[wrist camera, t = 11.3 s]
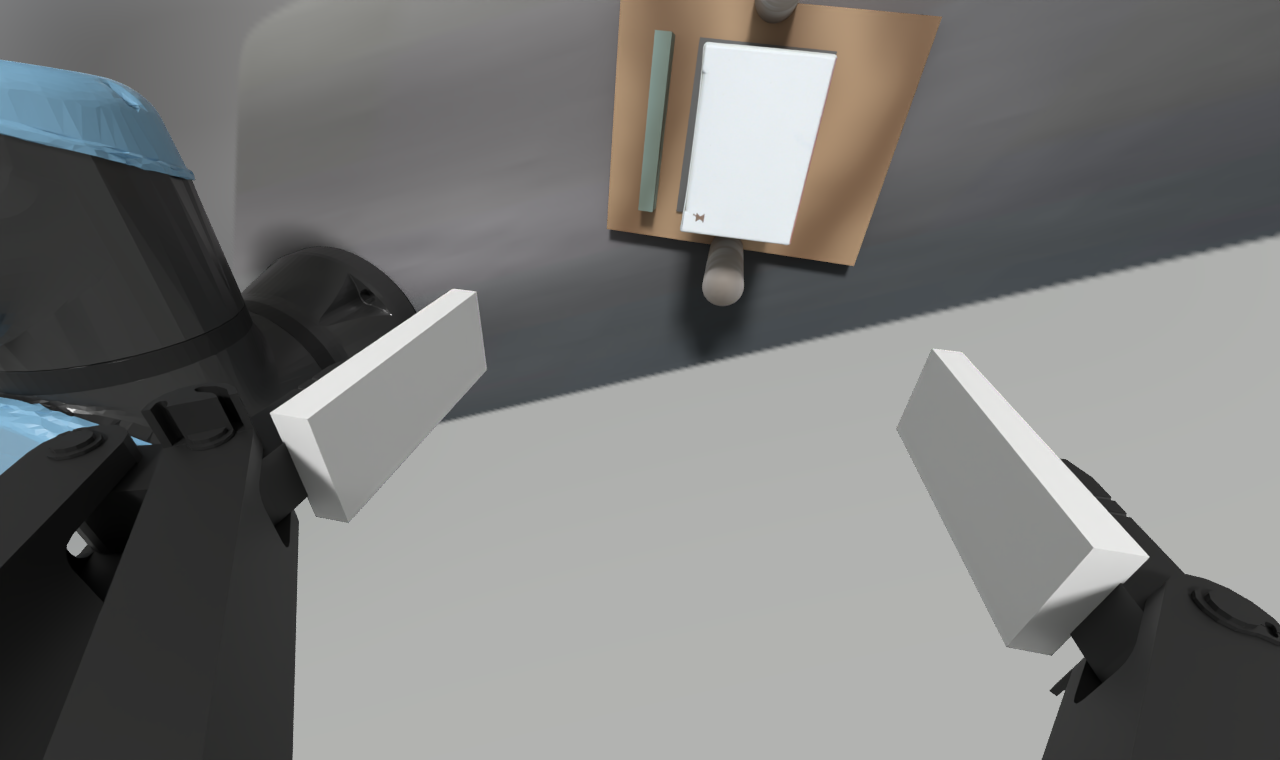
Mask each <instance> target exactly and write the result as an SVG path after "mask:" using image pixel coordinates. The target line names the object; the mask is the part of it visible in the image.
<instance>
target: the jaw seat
mask: <svg viewBox="0 0 1280 760" xmlns="http://www.w3.org/2000/svg"><path fill="white" fill-rule="evenodd" d="M798 2H799V0H621V1H620V18H619V34H618V51H617V68H616V85H615V102H614V119H613V135H612V152H611V169H610V186H609V203H608V219H607V229H611V230H618V231H625V232H631V233H638V234H645V235H651V236H658V237H665V238H671V239H678V240H684V241H691V242H698V243H704V244H711V245H710V250H709V255H708V259H707V264H706V269H705V274H704V279H703V284H702V290H703V294H704V296H705V297H706V299H707V300H708V301H709V302H711V303H712V304H714V305H718V306H728V305H731V304H733V303H735V302H736V301H737V300H738V299H739V298H740V297H741V295H742V293H743V290H744V264H743V249H744V250H751V251H758V252H764V253H771V254H778V255H784V256H791V257H798V258H804V259H811V260H817V261H824V262H831V263H837V264H844V265H851V266H854V264H855V261H856V258H857V255H858V253H859V250H860V247H861V244H862V241H863V238H864V236H865V233H866V230H867V227H868V224H869V222H870V219H871V216H872V213H873V210H874V207H875V205H876V202H877V199H878V196H879V193H880V190H881V188H882V185H883V182H884V179H885V176H886V174H887V171H888V168H889V165H890V162H891V159H892V157H893V154H894V151H895V148H896V145H897V142H898V140H899V137H900V134H901V131H902V128H903V126H904V123H905V120H906V117H907V114H908V111H909V109H910V106H911V103H912V100H913V97H914V95H915V92H916V89H917V86H918V83H919V80H920V78H921V75H922V72H923V69H924V66H925V63H926V61H927V58H928V55H929V52H930V49H931V47H932V44H933V41H934V38H935V35H936V32H937V30H938V27H939V24H940V21H941V18H942V17H938V16H928V15H917V14H906V13H896V12H885V11H875V10H864V9H853V8H843V7H832V6H821V5H811V4H800V3H798ZM706 42H714V43H725V44H737V45H748V46H758V47H769V48H779V49H789V50H799V51H809V52H819V53H828V54H835V55H836V56H837V61H836V64H835V68H834V72H833V76H832V80H831V84H830V89H829V93H828V97H827V100H826V104H825V108H824V112H823V116H822V120H821V124H820V128H819V132H818V136H817V140H816V144H815V148H814V152H813V156H812V160H811V164H810V168H809V172H808V176H807V180H806V184H805V188H804V192H803V196H802V200H801V204H800V208H799V212H798V216H797V219H796V224H795V228H794V232H793V236H792V240H791V244H790V245H782V244H775V243H767V242H759V241H751V240H744V239H736V238H728V237H720V236H712V235H704V234H696V233H688V232H682V231H680V225H681V220H682V214H683V208H684V203H685V196H686V190H687V183H688V175H689V168H690V160H691V153H692V145H693V137H694V129H695V121H696V113H697V105H698V97H699V88H700V79H701V68H702V55H703V46H704V44H705V43H706Z"/></svg>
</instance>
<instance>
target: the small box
mask: <svg viewBox="0 0 1280 760" xmlns="http://www.w3.org/2000/svg"><path fill="white" fill-rule="evenodd" d="M836 61H837V56H836V55H835V54H828V53H819V52H809V51H799V50H789V49H779V48H769V47H758V46H748V45H737V44H725V43H714V42H706V43H705V44H704V46H703V55H702V68H701V79H700V88H699V97H698V105H697V113H696V121H695V129H694V137H693V145H692V153H691V160H690V168H689V175H688V183H687V190H686V196H685V203H684V208H683V214H682V220H681V225H680V231H682V232H688V233H696V234H704V235H712V236H720V237H728V238H736V239H744V240H751V241H759V242H767V243H775V244H782V245H790V244H791V240H792V236H793V232H794V228H795V224H796V219H797V216H798V212H799V208H800V204H801V200H802V196H803V192H804V188H805V184H806V180H807V176H808V172H809V168H810V164H811V160H812V156H813V152H814V148H815V144H816V140H817V136H818V132H819V128H820V124H821V120H822V116H823V112H824V108H825V104H826V100H827V97H828V93H829V89H830V84H831V80H832V76H833V72H834V68H835V64H836Z"/></svg>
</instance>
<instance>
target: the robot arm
mask: <svg viewBox="0 0 1280 760" xmlns="http://www.w3.org/2000/svg"><path fill="white" fill-rule="evenodd" d="M192 180H195V178H194V174H193V172H192V171H190V170H188V169H187V168H186V166H185V164H184V162H183V160H182V158H181V156H180V154H179V152H178V150H177V149H176V147H175V144H174V143H173V141H172V138H171V137H170V134H169V132H168V131H167V129H166V127H165V125H164V123H163V121H162V119H161V117H160V115H159V113H158V112H157V111H156V109H155V108H154V107H153V106H152V104H151V103H150V102H149V101H148V100H146V99H145V98H144V97H143V96H142V95H141V94H139V93H138V92H136V91H135V90H133V89H131V88H130V87H128V86H126V85H124V84H122V83H119V82H117V81H114V80H111V79H108V78H105V77H101V76H96V75H90V74H85V73H79V72H75V71H69V70H62V69H56V68H50V67H44V66H38V65H32V64H26V63H19V62H13V61H6V60H0V760H292V754H293V718H294V680H295V679H294V677H295V641H296V604H297V603H296V602H297V567H298V566H297V565H298V564H297V563H298V530H299V521H298V518H297V515H296V513H295V511H294V509H295V508H296V507H297V506H298V505H299V504H300V503H301V502H302V501H303V500H304V499H305V498H306V497H308V500H309V502H310V504H311V507H312V509H313V511H314V513H315V516H316V517H320V518H326V519H331V520H336V521H342V522H347V523H349V522H350V521H351V519H352V518H353V517H354V516H355V515H356V514H357V513H358V512H359V510H360V509H361V508H362V507H363V506H364V505H365V504H366V503H367V502H368V501H369V500H370V498H371V497H372V496H373V495H374V494H375V493H376V492H377V490H379V488H380V487H381V486H382V485H383V484H384V483H385V482H386V481H387V480H388V478H389V477H390V476H391V475H392V474H393V473H394V472H395V471H396V470H397V469H398V467H399V466H400V465H401V464H402V463H403V462H404V461H405V460H406V458H408V456H409V455H410V454H411V453H412V452H413V451H414V450H415V449H416V447H417V446H418V445H419V444H420V443H421V442H422V441H423V440H424V439H425V438H426V437H427V435H428V434H429V433H430V432H431V431H432V430H433V429H434V428H435V427H436V425H437V424H438V423H439V422H440V421H441V420H442V419H443V418H444V417H445V416H446V414H447V413H448V412H449V411H450V410H451V409H452V408H453V407H454V406H455V404H456V403H457V402H458V401H459V400H460V399H461V398H462V397H463V396H464V395H465V393H466V392H467V391H468V390H469V389H470V388H471V387H472V386H473V385H474V383H475V382H476V381H477V380H478V379H479V378H480V377H481V376H482V375H483V373H484V372H485V371H486V370H487V367H486V359H485V352H484V344H483V336H482V329H481V321H480V314H479V306H478V299H477V292H475V291H467V290H459V289H452V290H450V291H449V292H447V293H446V294H444V295H443V296H441V297H440V298H438V299H437V300H435V301H434V302H433V303H431V304H430V305H428V306H427V307H425V308H424V309H422V310H421V311H419V312H418V313H415V311H414V309H413V307H412V306H411V304H410V302H409V301H408V299H407V298H406V297H405V295H404V294H403V293H402V291H401V290H400V289H399V288H398V287H397V285H396V284H395V283H394V282H393V281H392V280H391V279H390V278H389V277H388V276H386V275H385V274H384V273H383V272H382V271H381V270H379V269H378V268H377V267H375V266H374V265H372V264H371V263H369V262H368V261H366V260H364V259H363V258H361V257H359V256H357V255H354V254H352V253H350V252H347V251H344V250H341V249H337V248H332V247H310V248H306V249H303V250H300V251H297V252H294V253H291V254H289V255H286V256H283V257H281V258H280V259H278V260H276V261H275V262H273V263H272V264H271V265H270V266H269V267H268V268H267V269H266V271H265V272H263V273H262V274H261V275H260V276H259V277H258V278H257V279H255V280H254V281H253V282H252V283H251V284H250V285H249V286H248V287H247V288H246V289H245V290H244V291H243V292H242V293H241V292H240V290H239V288H238V285H237V283H236V281H235V279H234V276H233V274H232V272H231V269H230V267H229V265H228V263H227V260H226V258H225V256H224V253H223V251H222V249H221V246H220V244H219V242H218V240H217V237H216V235H215V233H214V230H213V228H212V226H211V224H210V222H209V219H208V217H207V215H206V212H205V210H204V208H203V205H202V203H201V201H200V198H199V196H198V194H197V191H196V189H195V186H194V184H193V182H192ZM897 431H898V433H899V435H900V437H901V439H902V441H903V443H904V445H905V447H906V449H907V451H908V453H909V455H910V457H911V458H912V461H913V463H914V465H915V467H916V468H917V471H918V472H919V474H920V477H921V479H922V481H923V483H924V484H925V487H926V488H927V490H928V492H929V494H930V496H931V498H932V500H933V502H934V504H935V506H936V508H937V510H938V512H939V514H940V516H941V518H942V520H943V522H944V524H945V526H946V528H947V530H948V532H949V534H950V536H951V538H952V540H953V542H954V544H955V546H956V548H957V550H958V552H959V554H960V556H961V558H962V560H963V562H964V564H965V566H966V568H967V570H968V572H969V574H970V576H971V577H972V580H973V582H974V584H975V586H976V588H977V590H978V592H979V594H980V596H981V598H982V600H983V602H984V604H985V606H986V608H987V610H988V612H989V614H990V615H991V617H992V620H993V622H994V624H995V626H996V627H997V629H998V631H999V633H1000V635H1001V637H1002V639H1003V641H1004V643H1005V645H1006V647H1009V648H1014V649H1020V650H1025V651H1031V652H1035V653H1041V654H1046V655H1051V656H1052V655H1053V654H1054V653H1055V652H1056V651H1057V650H1058V649H1059V648H1060V647H1061V646H1062V645H1063V644H1064V643H1065V642H1066V641H1067V640H1068V639H1069V638H1070V637H1071V636H1072V638H1073V639H1074V641H1075V643H1076V644H1077V646H1078V647H1079V649H1080V650H1081V652H1082V654H1083V655H1084V658H1083V659H1082V660H1081V661H1080V662H1079V663H1078V664H1077V665H1076V666H1075V667H1074V668H1073V669H1071V670H1070V671H1069V672H1068V673H1067V674H1066V675H1065V676H1064V677H1063V678H1062V679H1061V680H1060V681H1059V682H1058V683H1057V684H1055V685H1054V687H1053V688H1052V689H1051V690H1050V692H1052V693H1053V694H1055V695H1056V696H1057V695H1059V694H1060V693H1061V692H1062V691H1063V690H1065V693H1064V696H1063V699H1062V702H1061V705H1060V708H1059V711H1058V714H1057V717H1056V720H1055V722H1054V725H1053V728H1052V731H1051V734H1050V737H1049V740H1048V743H1047V746H1046V749H1045V752H1044V755H1043V758H1042V760H1280V625H1279V623H1278V622H1277V621H1276V620H1275V619H1274V618H1273V617H1271V616H1270V615H1268V614H1267V613H1266V612H1265V611H1263V610H1262V609H1261V608H1259V607H1258V606H1257V605H1255V604H1254V603H1253V602H1251V601H1249V600H1248V599H1246V598H1244V597H1242V596H1241V595H1239V594H1237V593H1236V592H1234V591H1232V590H1230V589H1229V588H1226V587H1224V586H1221V585H1219V584H1217V583H1214V582H1212V581H1210V580H1207V579H1204V578H1200V577H1196V576H1191V575H1187V574H1184V573H1183V572H1182V571H1181V569H1179V567H1178V566H1177V565H1176V564H1175V563H1174V562H1173V561H1172V560H1171V559H1170V558H1169V557H1168V556H1167V555H1166V554H1165V553H1164V552H1163V551H1162V550H1161V549H1160V548H1159V547H1158V545H1157V544H1156V543H1155V542H1154V541H1153V540H1151V538H1150V537H1149V536H1148V535H1147V534H1146V533H1145V532H1144V531H1143V530H1142V529H1141V528H1140V527H1139V526H1138V525H1137V524H1136V523H1135V522H1134V520H1133V519H1132V518H1130V517H1126V512H1125V511H1124V510H1123V509H1122V508H1121V507H1120V506H1119V505H1118V504H1117V503H1116V502H1115V501H1112V500H1111V496H1110V495H1109V494H1108V493H1107V492H1106V491H1105V490H1104V489H1103V488H1102V487H1101V486H1100V485H1099V484H1098V483H1097V482H1096V481H1095V480H1094V479H1093V478H1092V477H1091V476H1089V475H1088V474H1086V473H1085V472H1084V471H1082V470H1080V469H1079V468H1078V467H1076V466H1075V465H1073V464H1072V463H1070V462H1069V461H1068V460H1066V459H1059V457H1058V456H1057V455H1056V454H1055V453H1054V452H1053V451H1052V450H1051V449H1050V448H1049V447H1048V445H1047V444H1046V443H1045V442H1044V441H1043V440H1042V439H1041V438H1040V437H1039V436H1038V435H1037V433H1035V431H1034V430H1033V429H1032V428H1031V427H1030V426H1029V425H1028V424H1027V423H1026V421H1025V420H1024V419H1023V418H1022V417H1021V416H1020V415H1019V414H1018V413H1017V412H1016V411H1015V410H1014V408H1013V407H1012V406H1011V405H1010V404H1009V403H1008V402H1007V401H1006V400H1005V399H1004V398H1003V396H1002V395H1001V394H1000V393H999V392H998V391H997V390H996V389H995V388H994V387H993V386H992V384H991V383H990V382H989V381H988V380H987V379H986V378H985V377H984V376H983V375H982V374H981V373H980V371H979V370H978V369H977V368H976V367H975V366H974V365H973V364H972V363H971V362H970V360H969V359H968V358H967V357H966V356H965V355H964V354H963V353H962V352H957V351H948V350H940V349H932V350H931V352H930V354H929V357H928V359H927V361H926V364H925V366H924V368H923V370H922V372H921V374H920V377H919V379H918V381H917V384H916V386H915V388H914V390H913V392H912V395H911V397H910V399H909V402H908V404H907V406H906V408H905V410H904V413H903V415H902V417H901V420H900V422H899V424H898V426H897ZM75 531H77V532H78V534H79V535H80V536H81V537H82V538H83V539H84V540H85V542H86V543H87V544H88V545H87V546H86V547H85V548H84V549H83V551H82V552H81V553H80V554H79V555H77V556H76V557H75V556H73V555H72V554H71V553H70V552H69V551H68V550H67V544H68V542H69V540H70V538H71V537H72V535H73V533H74V532H75Z"/></svg>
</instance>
